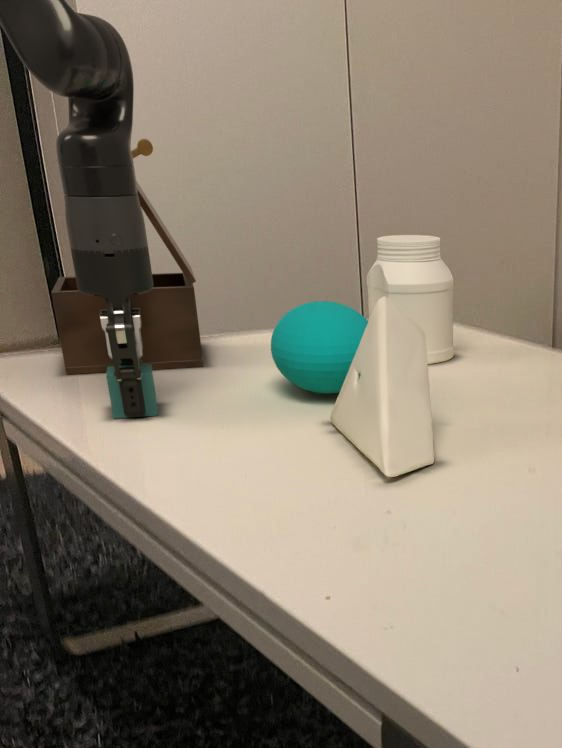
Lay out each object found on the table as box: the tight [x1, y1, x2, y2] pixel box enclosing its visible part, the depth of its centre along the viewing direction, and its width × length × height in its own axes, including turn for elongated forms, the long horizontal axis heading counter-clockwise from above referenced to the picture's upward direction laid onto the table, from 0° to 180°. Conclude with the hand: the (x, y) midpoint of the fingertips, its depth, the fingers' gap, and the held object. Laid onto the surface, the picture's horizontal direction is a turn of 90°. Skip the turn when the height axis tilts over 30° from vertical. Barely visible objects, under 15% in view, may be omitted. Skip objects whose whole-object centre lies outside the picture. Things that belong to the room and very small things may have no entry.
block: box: [105, 364, 159, 420], centre depth 108 cm, size 5×5×5 cm
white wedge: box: [330, 297, 435, 478], centre depth 95 cm, size 15×6×20 cm
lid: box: [131, 138, 197, 285], centre depth 125 cm, size 18×14×5 cm
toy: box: [270, 300, 369, 395], centre depth 116 cm, size 18×13×10 cm
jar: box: [366, 234, 455, 365], centre depth 132 cm, size 12×10×15 cm
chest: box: [50, 272, 205, 376], centre depth 130 cm, size 17×14×10 cm
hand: (135, 408), depth 109 cm, fingers closed on block, 4 cm apart
